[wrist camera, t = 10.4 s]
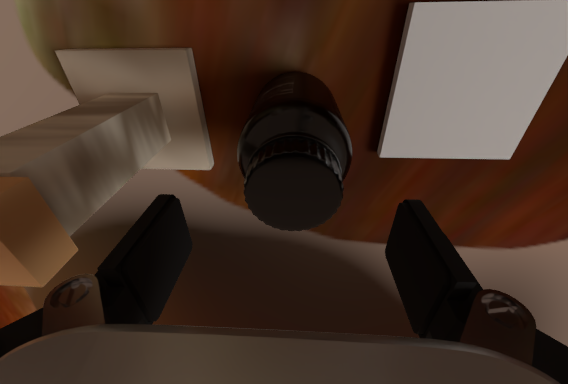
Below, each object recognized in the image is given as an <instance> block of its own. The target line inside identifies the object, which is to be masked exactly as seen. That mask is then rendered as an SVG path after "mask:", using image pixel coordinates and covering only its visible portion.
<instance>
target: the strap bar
mask: <svg viewBox="0 0 568 384" xmlns="http://www.w3.org/2000/svg"><path fill="white" fill-rule="evenodd" d="M77 251H78V248H77V247H76V245H75V244H74V242H73V241H72V240H71V238H70V237H69V235H68V234H67V232H66V231H65V229H64V228H63V226H62V225H61V224H60V222H59V221H58V219H57V218H56V216H55V215H54V213H53V212H52V211H51V209H50V208H49V206H48V205H47V203H46V202H45V200H44V199H43V198H42V196H41V195H40V193H39V192H38V190H37V189H36V187H35V186H34V185H33V183H32V182H31V180H30V179H29V177H0V285H8V286H29V287H43V286H45V285H46V283H47V282H48V281H49V280H50V279H51V278H52V277H53V276H54V275H55V274H56V273H57V272H58V271H59V270H60V269H61V268H62V267H63V266H64V264H65V263H67V261H68V260H69V259H70V258H71V257H72V256H73V255H74V254H75V253H76V252H77Z"/></svg>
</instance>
